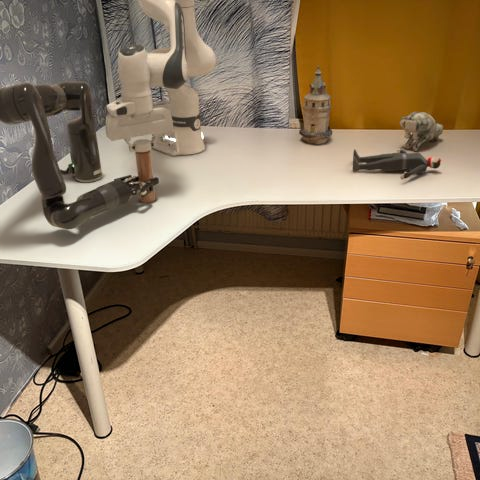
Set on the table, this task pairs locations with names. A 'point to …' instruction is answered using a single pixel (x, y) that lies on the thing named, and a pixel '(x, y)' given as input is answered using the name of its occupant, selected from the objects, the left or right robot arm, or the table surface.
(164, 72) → the right robot arm
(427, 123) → the figurine
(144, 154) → the tan tall cylinder
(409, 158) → the toy
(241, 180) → the table surface
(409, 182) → the table surface
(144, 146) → the lid
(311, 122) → the miniature building
